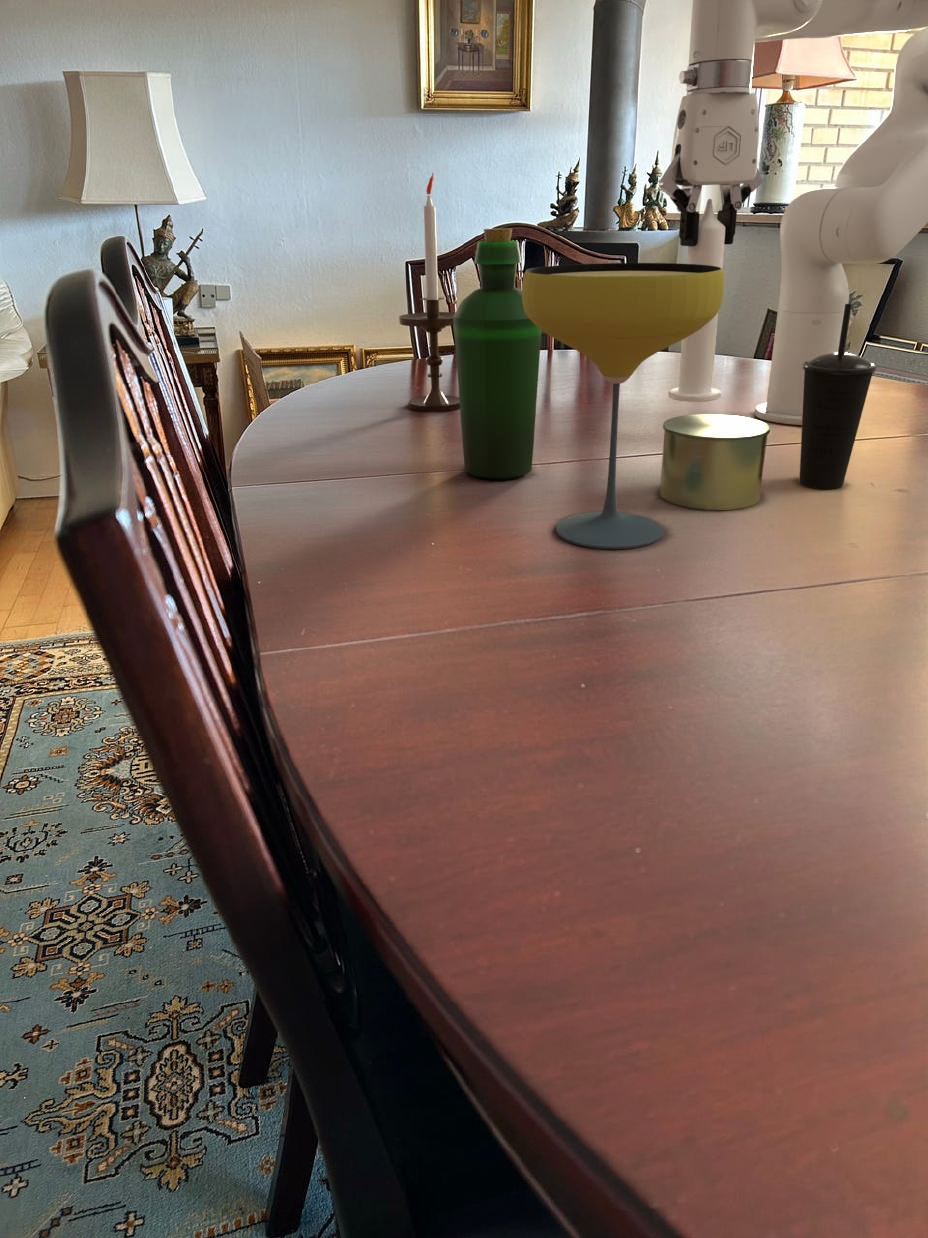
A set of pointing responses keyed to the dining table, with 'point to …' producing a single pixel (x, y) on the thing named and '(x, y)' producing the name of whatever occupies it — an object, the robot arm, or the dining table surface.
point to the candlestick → (431, 318)
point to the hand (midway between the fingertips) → (706, 243)
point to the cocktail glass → (619, 349)
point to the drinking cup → (832, 412)
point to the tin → (713, 461)
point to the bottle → (497, 366)
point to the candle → (702, 342)
